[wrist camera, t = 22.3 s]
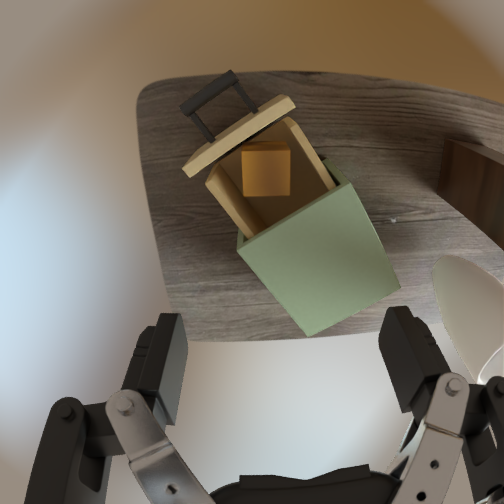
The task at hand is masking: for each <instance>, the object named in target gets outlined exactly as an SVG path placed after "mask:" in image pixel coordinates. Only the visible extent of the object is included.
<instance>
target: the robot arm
mask: <svg viewBox="0 0 504 504" xmlns="http://www.w3.org/2000/svg"><path fill="white" fill-rule="evenodd" d="M378 342H379V349H380V351H381V354H382V357H383V359H384V362H385V365H386V367H387V370H388V373H389V376H390V379H391V382H392V385H393V387H394V390H395V393H396V396H397V399H398V402H399V405H400V408H401V411H402V413H406V412H410V411H412V413H413V416H414V417H413V418H412V420H411V422H410V425H409V427H408V429H407V431H406V434H405V436H404V438H403V440H402V443H401V445H400V447H399V449H398V451H397V453H396V455H395V457H394V459H393V461H392V462H391V463H390V465H389V466H388V468H387V470H386V471H385V473H382V472H377V471H370V469H369V464H365V465H360V466H354V467H348V468H341V469H337V470H334V471H332V472H329V473H326V474H324V475H321V476H318V477H315V478H312V479H308V480H302V479H295V478H288V477H282V476H276V475H240V479H239V480H240V481H239V482H235V483H231V484H228V485H225V486H223V487H221V488H218V489H217V490H215V491H213V492H211V493H210V494H208V493H207V492H206V490H205V489H204V488H203V486H202V485H201V484H200V482H199V481H198V480H197V478H196V477H195V476H194V475H193V473H192V472H191V470H190V469H189V468H188V466H187V465H186V463H185V462H184V461H183V459H182V458H181V457H180V455H179V453H178V452H177V450H176V449H175V447H174V446H173V445H172V443H171V442H170V441H169V439H168V438H167V436H166V434H165V427H166V425H175V421H176V415H177V410H178V404H179V398H180V393H181V387H182V382H183V376H184V371H185V366H186V360H187V355H188V343H187V338H186V334H185V329H184V325H183V320H182V316H181V314H180V313H161V314H160V316H159V319H158V322H157V324H156V326H148V327H147V328H146V329H145V330H144V331H143V332H142V333H141V334H140V336H139V339H138V341H137V344H136V348H135V350H134V353H133V357H132V358H131V361H130V364H129V367H128V370H127V373H126V376H125V379H124V382H123V385H122V388H121V390H120V391H118V392H116V393H114V394H113V395H112V396H111V397H110V398H109V399H108V401H106V402H104V403H97V404H90V405H82V404H81V402H80V401H79V400H78V399H76V398H73V397H65V398H62V399H60V400H58V401H57V402H55V404H54V405H53V406H52V408H51V410H50V413H49V416H48V419H47V422H46V425H45V428H44V431H43V434H42V437H41V441H40V444H39V447H38V451H37V454H36V457H35V461H34V464H33V468H32V472H31V476H30V480H29V484H28V488H27V493H26V497H25V501H24V504H105V499H106V492H107V486H108V479H109V473H110V467H111V461H112V456H115V455H123V454H126V455H127V457H128V459H129V466H130V468H131V470H132V472H133V474H134V476H135V478H136V479H137V481H138V483H139V485H140V486H141V488H142V490H143V492H144V493H145V495H146V497H147V498H148V500H149V501H150V503H151V504H442V503H443V500H444V498H445V496H446V493H447V490H448V488H449V485H450V482H451V479H452V477H453V474H454V471H455V468H456V465H457V462H458V459H459V456H460V452H461V450H462V454H463V457H464V461H465V465H466V469H467V473H468V477H469V481H470V485H471V490H472V494H473V499H474V503H475V504H504V377H502V376H493V377H491V378H490V379H489V380H488V382H487V383H486V385H481V384H468V382H467V381H466V380H465V378H464V377H462V376H461V375H459V374H457V373H453V372H451V370H450V368H449V366H448V364H447V362H446V360H445V358H444V356H443V354H442V352H441V350H440V348H439V347H438V345H437V344H436V341H435V339H434V337H432V333H431V332H430V330H429V328H428V326H427V325H426V324H425V323H424V322H423V321H422V320H421V319H420V318H418V317H413V315H412V313H411V311H410V309H409V308H408V307H407V306H395V307H389V308H388V309H387V311H386V314H385V318H384V321H383V324H382V327H381V330H380V333H379V340H378ZM489 425H491V427H492V430H493V433H494V436H495V439H496V442H497V449H496V447H495V444H494V441H493V438H492V435H491V432H490V429H489Z"/></svg>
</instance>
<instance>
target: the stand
mask: <svg viewBox="0 0 504 504" xmlns="http://www.w3.org/2000/svg"><path fill="white" fill-rule="evenodd" d="M437 195H438V196H440V197H441V198H442V199H444V200H445V201H446V202H448V203H449V204H450V205H451V206H453V207H454V208H455V209H456V210H458V211H459V212H460V213H461V214H463V215H464V216H465V217H466V218H467V219H469V220H470V221H471V222H472V223H473V224H474V225H476V226H477V227H478V228H479V229H480V230H481V231H483V232H484V233H485V234H486V235H487V236H488V237H489V238H490V239H492V240H493V241H494V242H495V243H496V244H497V245H498V246H499V247H500V248H501V249H502V250H503V251H504V154H502V153H499V152H497V151H495V150H493V149H491V148H488V147H486V146H482V145H477V144H473V143H468V142H463V141H457V140H452V139H446V138H445V142H444V150H443V158H442V165H441V172H440V178H439V184H438V190H437Z"/></svg>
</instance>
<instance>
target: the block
mask: <svg viewBox="0 0 504 504" xmlns="http://www.w3.org/2000/svg"><path fill="white" fill-rule="evenodd" d="M241 159H242V182H243V197H253V196H290V171H291V150H290V149H289V147H288V145H287V143H286V142H285V141H259V142H243V144H242V150H241Z"/></svg>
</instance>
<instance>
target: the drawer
mask: <svg viewBox="0 0 504 504" xmlns="http://www.w3.org/2000/svg"><path fill="white" fill-rule="evenodd" d="M238 81H239V79H238V78H237V77H236V75H235V74H234V73H233V71H232V70H229V71H228V72H226V73H225V74H223V75H222V76H220V77H219V78H217V79H216V80H214V81H213V82H211V83H210V84H209V85H207V86H206V87H204V88H203V89H202V90H200V91H199V92H198V93H196V94H195V95H193V96H192V97H191V98H189V99H188V100H187V101H185V102H184V103H183V104H182V105H180V106H179V107H180V110H181V111H182V112H183V114H184V115H185V116H187V117H190V118H191V119H192V120H193V122H194V123H195V124H196V126H197V127H198V128H199V130H200V131H201V132H202V133H203V135H204V136H205V137H206V139H207V140H208V141H209V142H207V143H206V144H204V145H203V146H202V147H200V148H199V149H198V150H196V151H195V153H194V154H193V155H192V156H191V157H190V159H189V160H188V161H187V162H186V164H185V165H184V166H183V167H182V169H183V170H184V172H185V173H186V174H187V175H188V177H189V178H191V177H192V176H193V175H195V174H196V173H197V172H199V171H200V170H202V169H203V168H204V167H206V166H207V165H208V164H210V163H211V162H213V161H214V160H216V159H217V158H218V157H220V156H221V155H223V154H224V153H226V152H227V151H229V150H230V149H231V148H233V147H234V146H236V145H237V144H239V143H240V142H242V141H243V140H245V139H246V138H248V137H249V136H251V135H252V134H254V133H255V132H257V131H259V130H260V129H262V128H263V127H265V126H266V125H268V124H270V123H271V122H273V121H274V120H276V119H277V118H279V117H281V116H282V115H284V114H286V113H287V112H289V111H290V110H292V109H294V108H295V105H294V104H293V102H292V101H291V99H290V98H289V96H286V95H282V94H279V95H278V96H276V97H275V98H273V99H271V100H270V101H268V102H266V103H265V104H263V105H262V106H260V107H259V108H257V107H256V106H255V105H254V103H253V102H252V100H251V99H250V98H249V96H248V95H247V94H246V92H245V91H244V90H243V88H242V87H241V86H240V84H239V83H238ZM232 85H233V87H234V88H235V90H236V91H237V92H238V94H239V95H240V96H241V98H242V99H243V101H244V102H245V103H246V105H247V106H248V107H249V109H250V110H251V111H252V112H251V113H249V114H248V115H246V116H245V117H243V118H242V119H240V120H239V121H237V122H236V123H234V124H233V125H231V126H230V127H228V128H227V129H226V130H224V131H223V132H221V133H220V134H218V135H217V136H216V137H214V136H213V135H212V133H211V132H210V131H209V130H208V128H207V127H206V126H205V124H204V123H203V122H202V120H201V119H200V118H199V117H198V115H197V114H196V113H195V111H197V110H198V109H199V108H201V107H202V106H204V105H205V104H206V103H208V102H209V101H211V100H212V99H213V98H215V97H216V96H218V95H219V94H220V93H222V92H223V91H225V90H226V89H228V88H229V87H231V86H232ZM259 141H285V142H286V143H287V145H288V147H289V149H290V150H291V171H290V196H253V197H243V182H242V159H241V150H242V146H240V147H239V148H237V149H236V150H234V151H233V152H231V153H230V154H228V155H227V156H225V157H224V158H222V159H221V160H220V161H218V162H217V163H215V164H214V165H213V168H212V170H211V172H210V174H209V176H208V178H207V180H206V183H205V185H206V186H207V188H208V189H209V190H210V192H211V193H212V194H213V195H214V197H215V198H216V199H217V200H218V202H219V203H220V204H221V206H222V207H223V208H224V209H225V211H226V212H227V213H228V214H229V216H230V217H231V218H232V219H233V221H234V222H235V223H236V225H237V226H238V227H239V228H240V230H241V231H242V232H243V233H244V235H245V236H246V237H247V239H248V240H249V239H251V238H252V237H254V236H256V235H257V234H259V233H261V232H262V231H264V230H265V229H267V228H269V227H270V226H272V225H274V224H275V223H277V222H279V221H280V220H282V219H284V218H285V217H287V216H289V215H290V214H292V213H294V212H295V211H297V210H299V209H300V208H302V207H304V206H305V205H307V204H309V203H310V202H312V201H314V200H315V199H317V198H319V197H320V196H322V195H324V194H325V193H327V192H329V191H331V190H332V189H334V188H336V186H335V184H334V182H333V180H332V179H331V177H330V175H329V174H328V172H327V170H326V169H325V167H324V165H323V164H322V162H321V160H320V159H319V157H318V155H317V154H316V152H315V151H314V149H313V147H312V146H311V144H310V143H309V141H308V140H307V138H306V136H305V135H304V133H303V132H302V130H301V129H300V127H299V126H298V124H297V123H296V122H295V121H293V120H292V119H291V118H290V117H289V116H287V117H285V118H284V119H282V120H280V121H279V122H277V123H276V124H274V125H272V126H271V127H269V128H268V129H266V130H265V131H263V132H261V133H260V134H258V135H257V136H255V137H254V138H252V139H251V140H249V141H248V142H259Z"/></svg>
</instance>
